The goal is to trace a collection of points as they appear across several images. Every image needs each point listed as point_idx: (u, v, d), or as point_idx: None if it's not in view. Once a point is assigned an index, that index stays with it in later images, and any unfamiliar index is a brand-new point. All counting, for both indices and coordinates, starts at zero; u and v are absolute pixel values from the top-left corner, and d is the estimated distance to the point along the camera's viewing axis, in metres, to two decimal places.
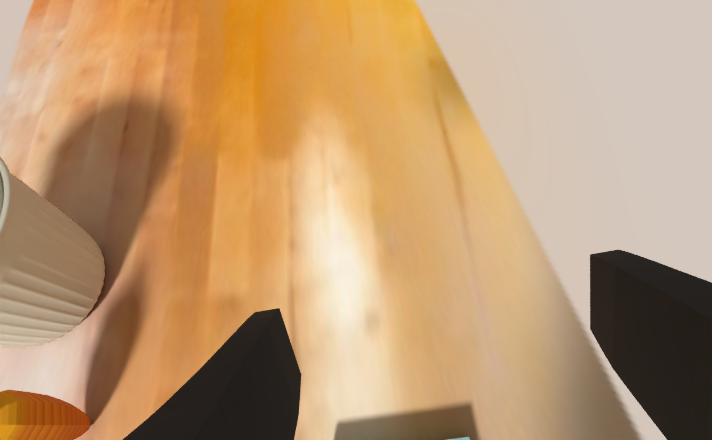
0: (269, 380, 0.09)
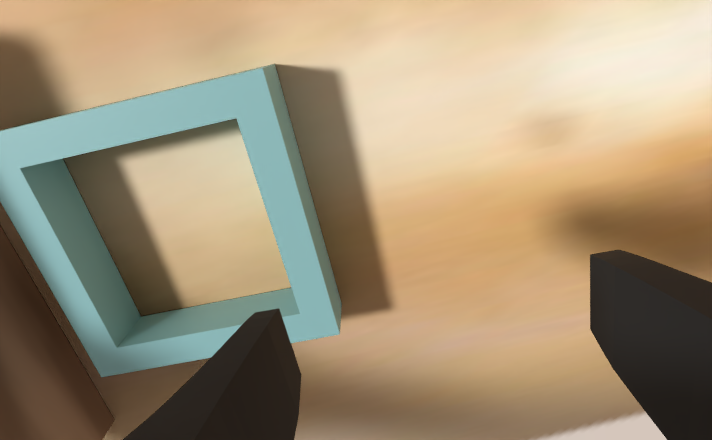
0: (269, 380, 0.09)
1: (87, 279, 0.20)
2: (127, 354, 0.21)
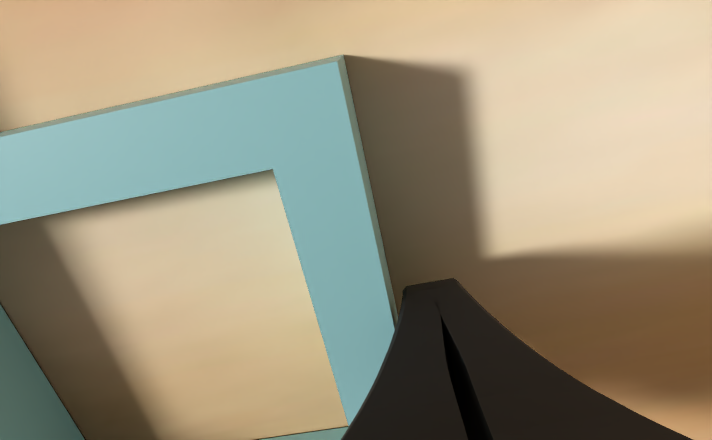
0: (446, 352, 0.08)
1: None
2: None
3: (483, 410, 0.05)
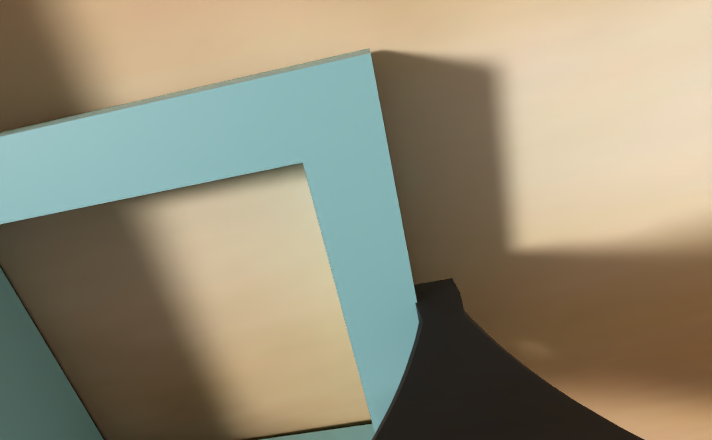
0: None
1: (11, 435, 0.11)
2: None
3: (454, 414, 0.05)
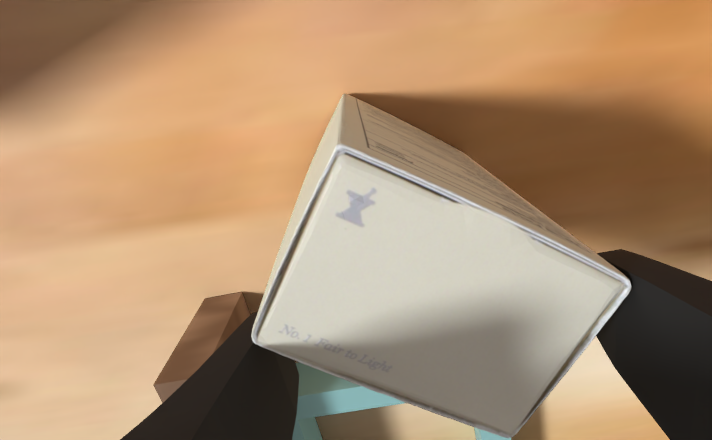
0: (267, 380, 0.09)
1: None
2: None
3: None
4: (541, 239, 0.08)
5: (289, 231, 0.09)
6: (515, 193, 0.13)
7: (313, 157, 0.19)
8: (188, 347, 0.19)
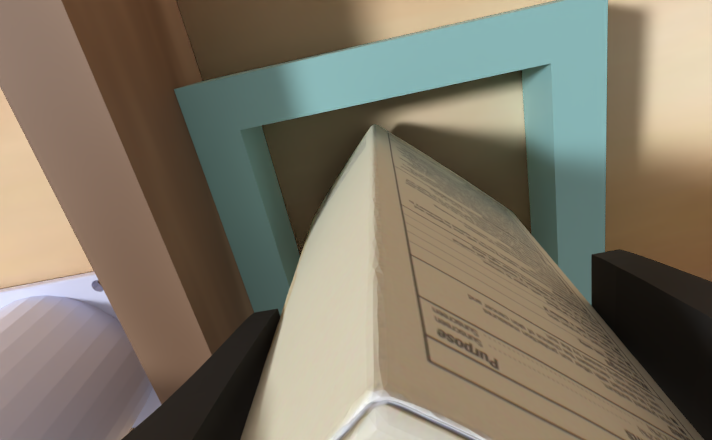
0: None
1: (290, 278, 0.15)
2: None
3: None
4: None
5: (272, 411, 0.06)
6: (602, 323, 0.09)
7: None
8: None
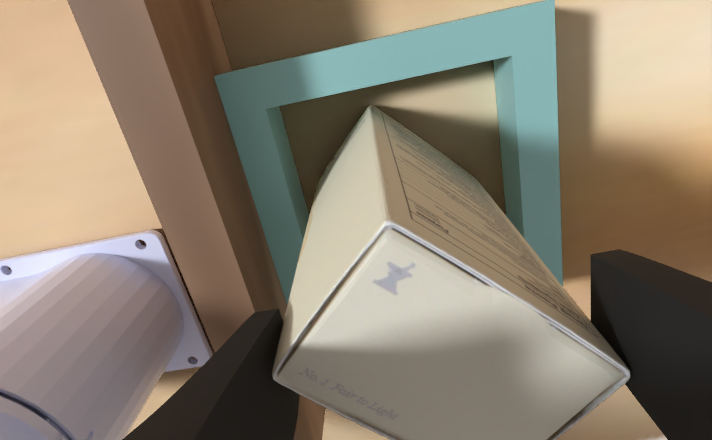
0: (268, 380, 0.09)
1: (303, 234, 0.19)
2: None
3: None
4: (557, 327, 0.08)
5: (316, 270, 0.10)
6: (527, 245, 0.13)
7: None
8: None
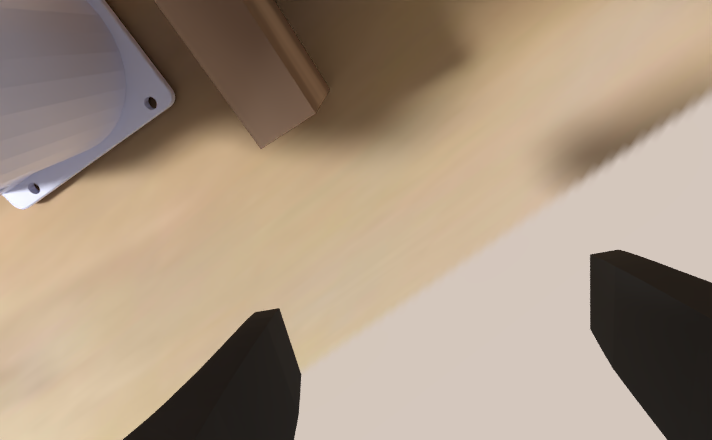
0: (269, 380, 0.09)
1: None
2: None
3: None
4: None
5: None
6: None
7: None
8: None
